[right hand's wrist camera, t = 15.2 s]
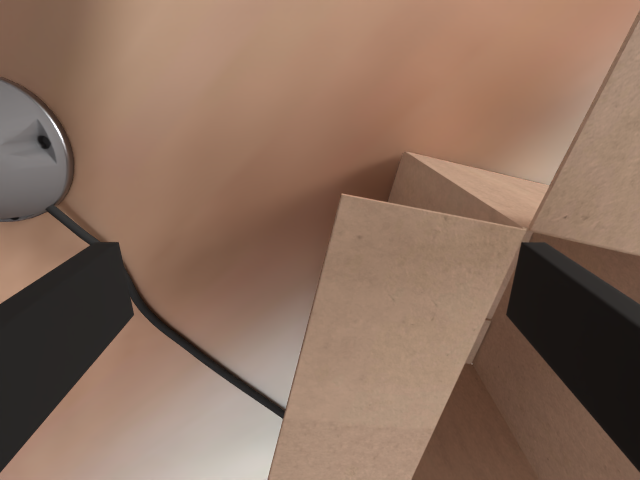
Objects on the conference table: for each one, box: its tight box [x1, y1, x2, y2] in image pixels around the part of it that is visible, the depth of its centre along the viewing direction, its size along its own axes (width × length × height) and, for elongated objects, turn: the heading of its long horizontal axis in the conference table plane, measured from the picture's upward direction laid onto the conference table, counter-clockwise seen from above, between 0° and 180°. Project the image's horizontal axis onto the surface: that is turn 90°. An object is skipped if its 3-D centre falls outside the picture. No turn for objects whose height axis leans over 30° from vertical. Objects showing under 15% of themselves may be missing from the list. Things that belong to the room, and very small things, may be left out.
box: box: [268, 11, 640, 480], centre depth 33 cm, size 44×36×27 cm
